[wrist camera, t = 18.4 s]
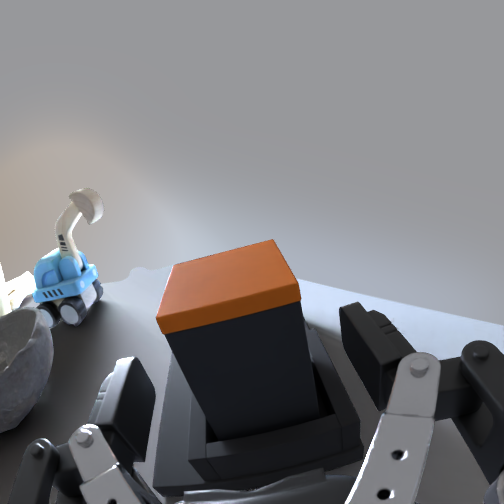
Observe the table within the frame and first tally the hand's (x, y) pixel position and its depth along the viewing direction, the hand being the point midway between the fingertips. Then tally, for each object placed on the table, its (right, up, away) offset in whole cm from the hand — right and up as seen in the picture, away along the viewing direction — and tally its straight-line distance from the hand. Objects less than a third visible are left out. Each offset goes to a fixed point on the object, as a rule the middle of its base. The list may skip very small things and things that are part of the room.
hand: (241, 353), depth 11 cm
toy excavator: (-24, -5, +30) cm, 39 cm away
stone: (-56, -8, +45) cm, 72 cm away
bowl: (-25, -13, +11) cm, 30 cm away
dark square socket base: (0, -7, +10) cm, 12 cm away
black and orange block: (+1, -6, +6) cm, 9 cm away
